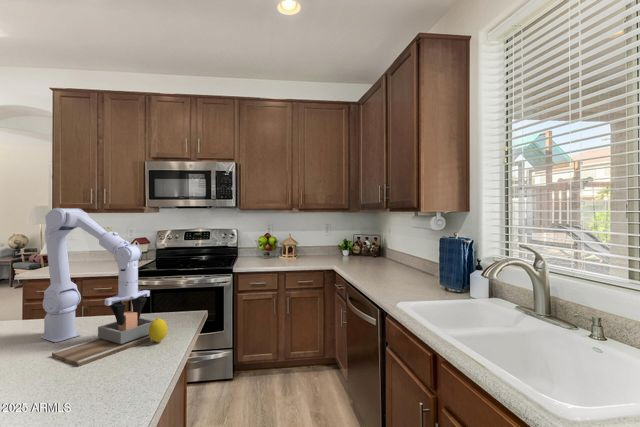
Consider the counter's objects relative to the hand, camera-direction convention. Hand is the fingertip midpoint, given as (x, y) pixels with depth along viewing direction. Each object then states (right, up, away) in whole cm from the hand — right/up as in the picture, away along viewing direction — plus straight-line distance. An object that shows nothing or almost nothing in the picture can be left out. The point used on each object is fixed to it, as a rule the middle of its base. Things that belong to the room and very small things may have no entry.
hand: (128, 322), depth 116 cm
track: (-3, -6, -5) cm, 8 cm away
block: (0, -3, 0) cm, 3 cm away
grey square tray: (0, -5, 0) cm, 5 cm away
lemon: (+11, -6, -3) cm, 13 cm away
